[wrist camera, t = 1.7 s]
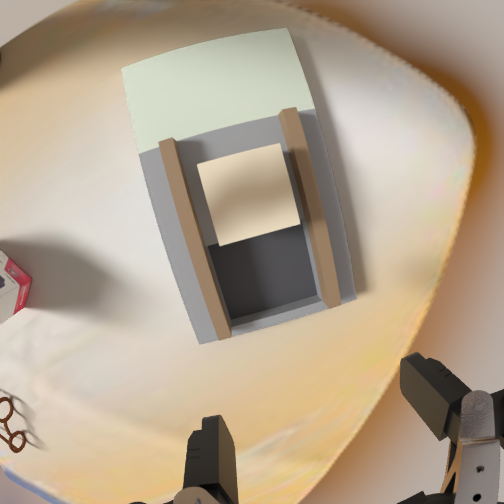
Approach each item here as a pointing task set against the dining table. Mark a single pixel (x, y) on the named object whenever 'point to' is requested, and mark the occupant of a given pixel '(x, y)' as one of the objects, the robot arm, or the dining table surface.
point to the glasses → (9, 430)
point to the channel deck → (227, 143)
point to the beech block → (249, 193)
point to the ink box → (12, 288)
